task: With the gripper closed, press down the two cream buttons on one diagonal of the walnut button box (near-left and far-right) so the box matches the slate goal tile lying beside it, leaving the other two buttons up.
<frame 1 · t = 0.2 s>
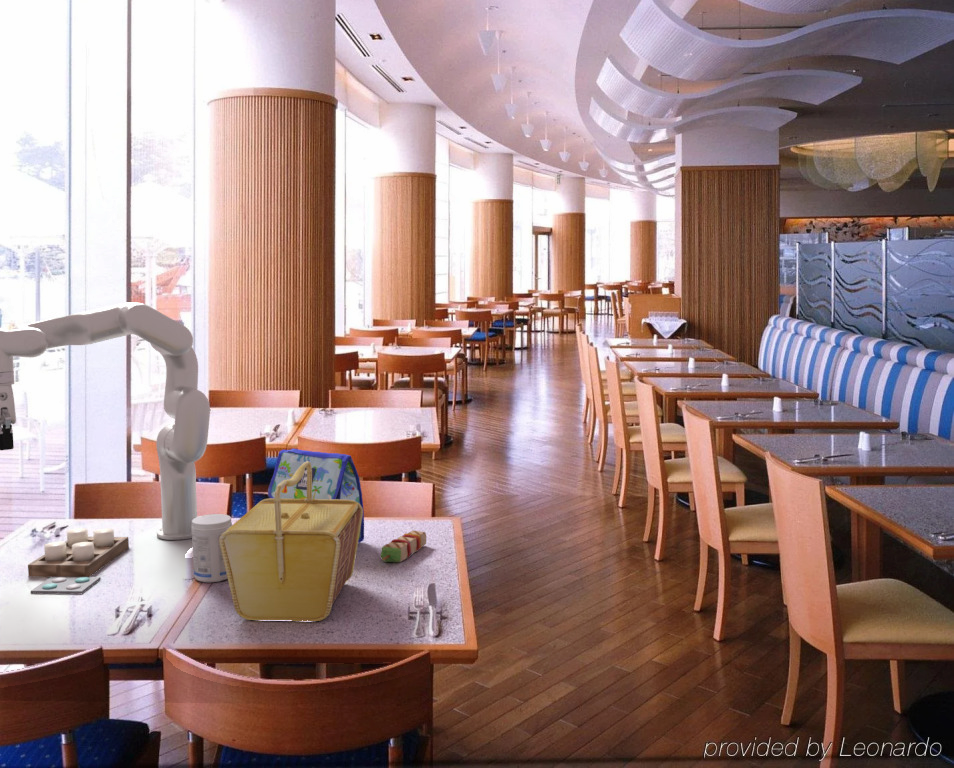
hand: (1, 446, 228), 31 cm above the table, tool pointing down, fingers open, 9 cm apart
supplement tub: (214, 577, 224), on the table
button a: (103, 538, 241), point 4 cm above the table, slide at 0.0 cm
button c: (83, 552, 229), point 4 cm above the table, slide at 0.0 cm
picnic basket: (297, 602, 207), on the table
button d: (55, 551, 229), point 4 cm above the table, slide at 0.0 cm
goal tile: (66, 586, 217), on the table
button box: (81, 561, 235), on the table
lunch bag: (317, 545, 250), on the table
button b: (77, 538, 241), point 4 cm above the table, slide at 0.0 cm
skewer: (401, 557, 240), on the table
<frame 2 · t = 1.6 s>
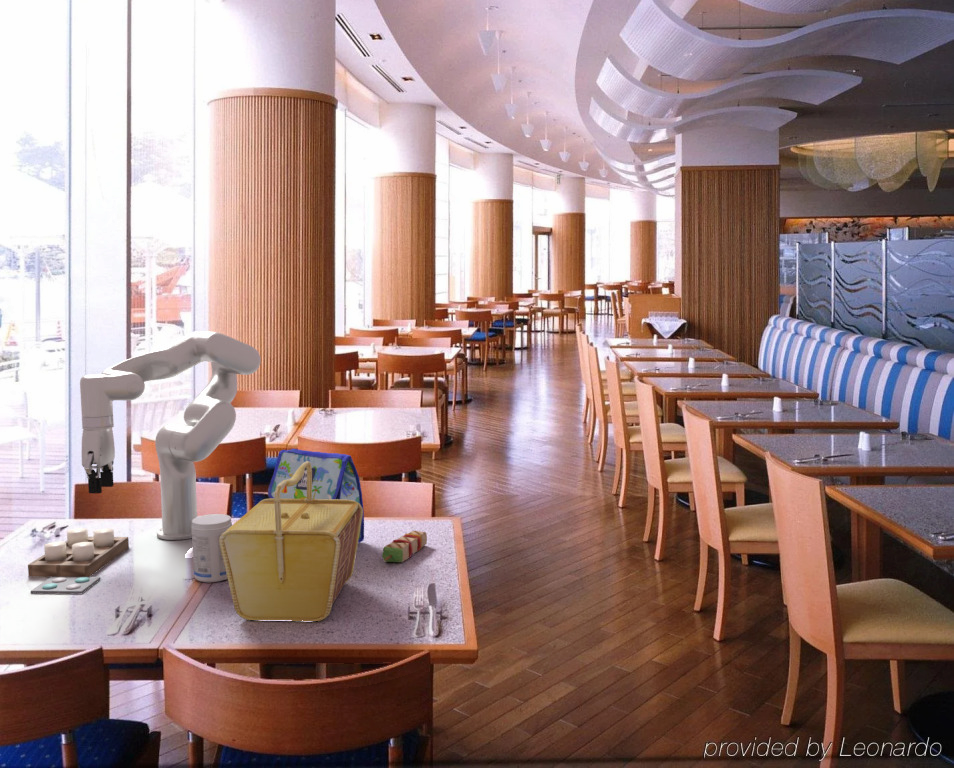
hand: (101, 489, 239), 18 cm above the table, tool pointing down, fingers open, 6 cm apart
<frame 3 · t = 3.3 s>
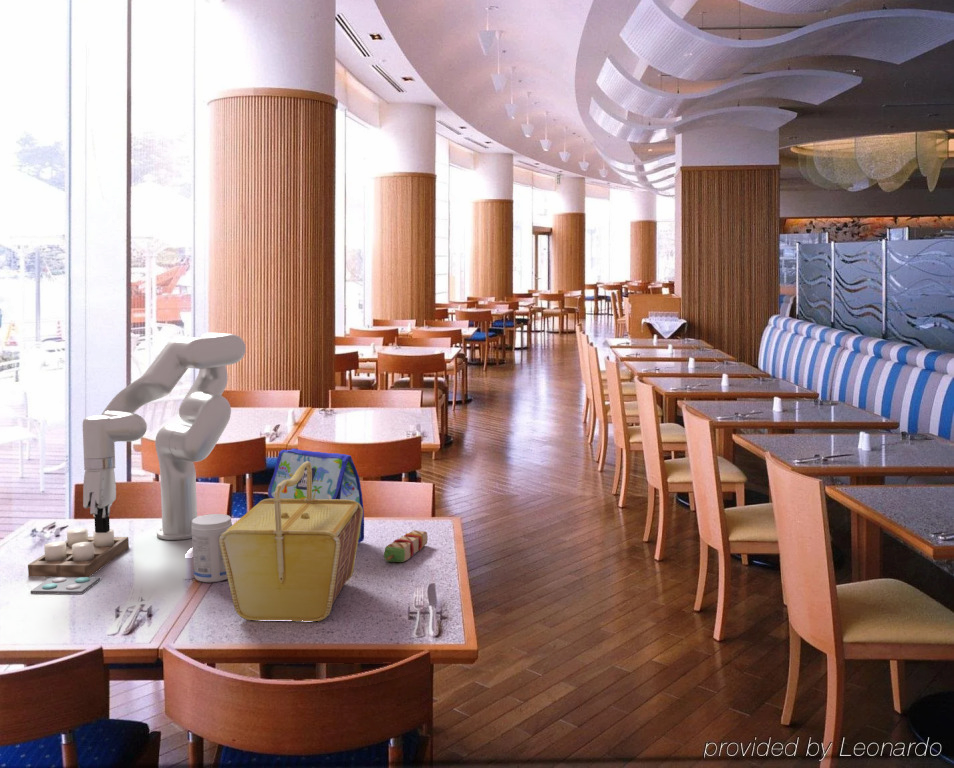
hand: (102, 531, 240), 6 cm above the table, tool pointing down, fingers closed
button a: (103, 538, 241), point 4 cm above the table, slide at 0.1 cm, touching gripper
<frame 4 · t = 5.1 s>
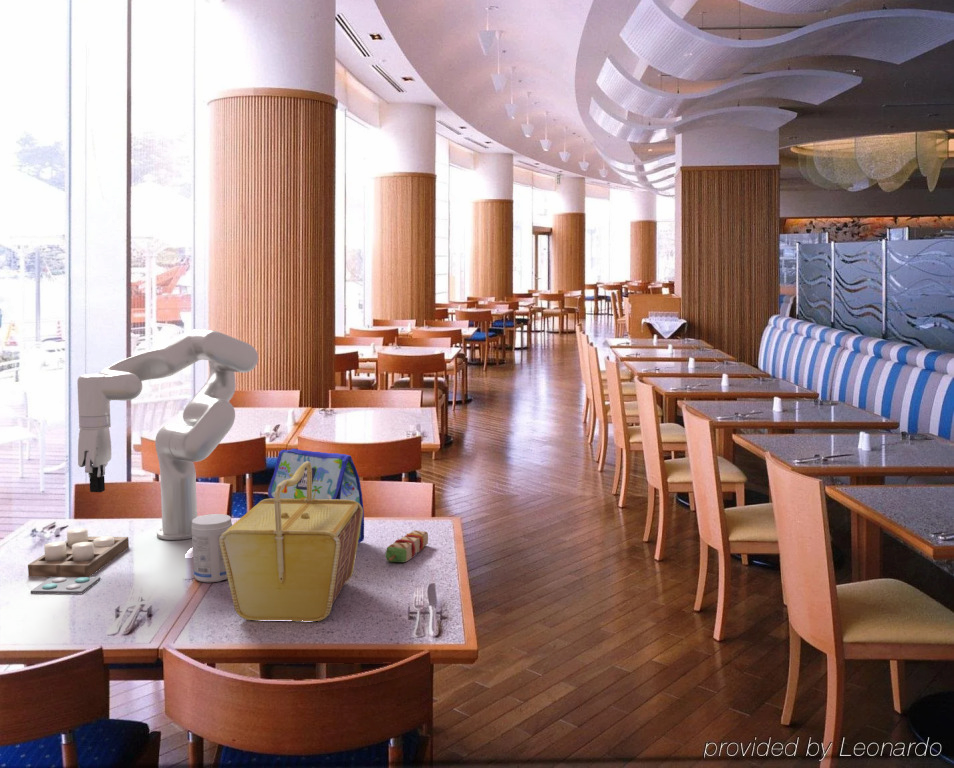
hand: (97, 491, 238), 17 cm above the table, tool pointing down, fingers closed
button a: (104, 546, 241), point 2 cm above the table, slide at 2.1 cm
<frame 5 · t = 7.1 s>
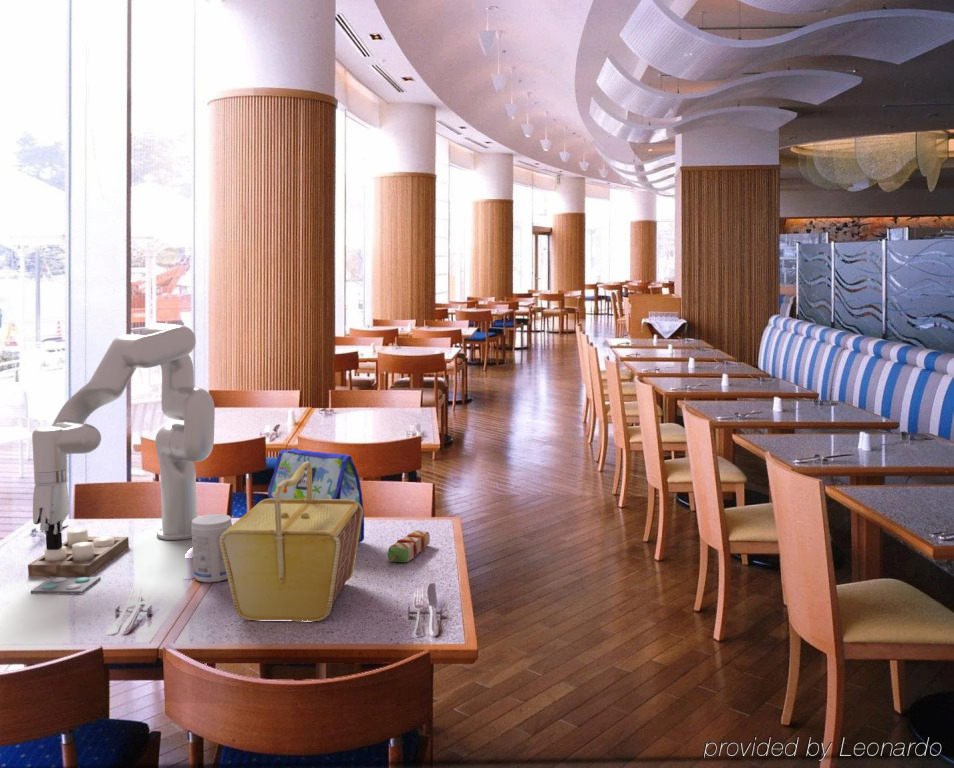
hand: (54, 548, 229), 5 cm above the table, tool pointing down, fingers closed
button d: (55, 555, 229), point 3 cm above the table, slide at 1.0 cm, touching gripper
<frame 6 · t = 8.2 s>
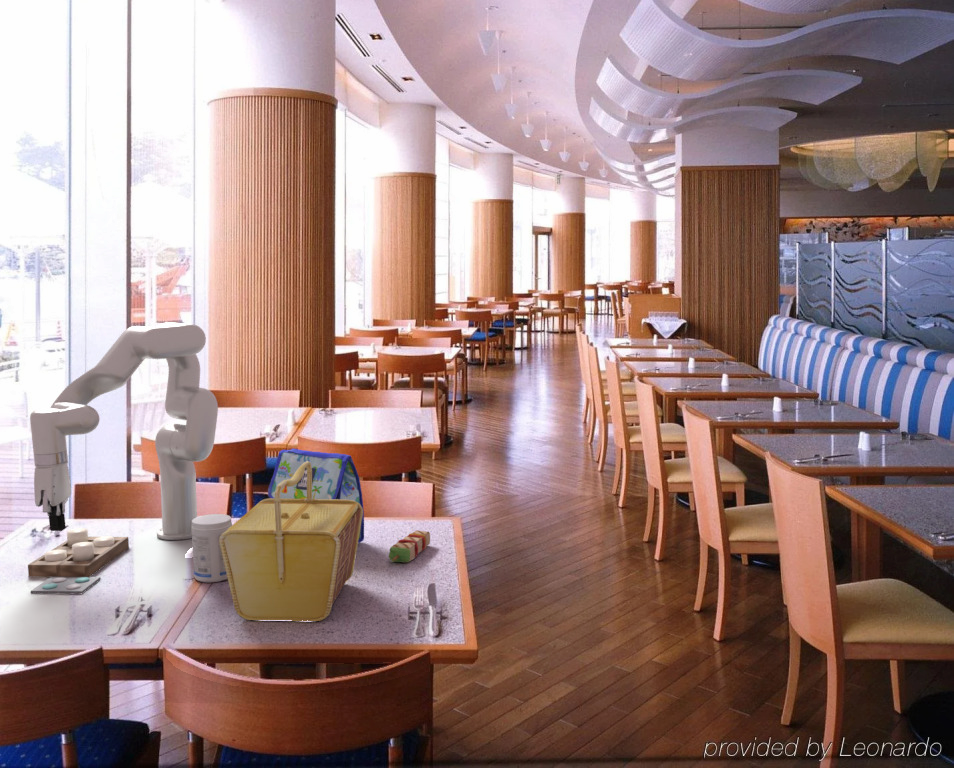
hand: (58, 529, 229), 10 cm above the table, tool pointing down, fingers closed
button d: (56, 559, 229), point 2 cm above the table, slide at 2.1 cm
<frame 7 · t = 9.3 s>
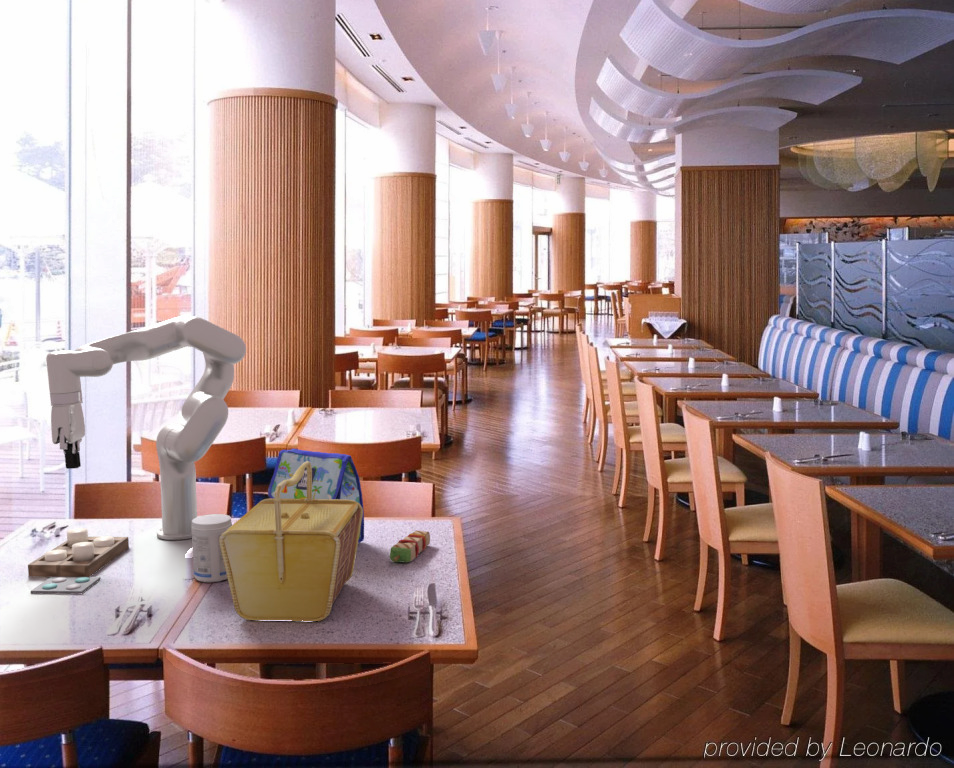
hand: (73, 467, 239), 23 cm above the table, tool pointing down, fingers closed
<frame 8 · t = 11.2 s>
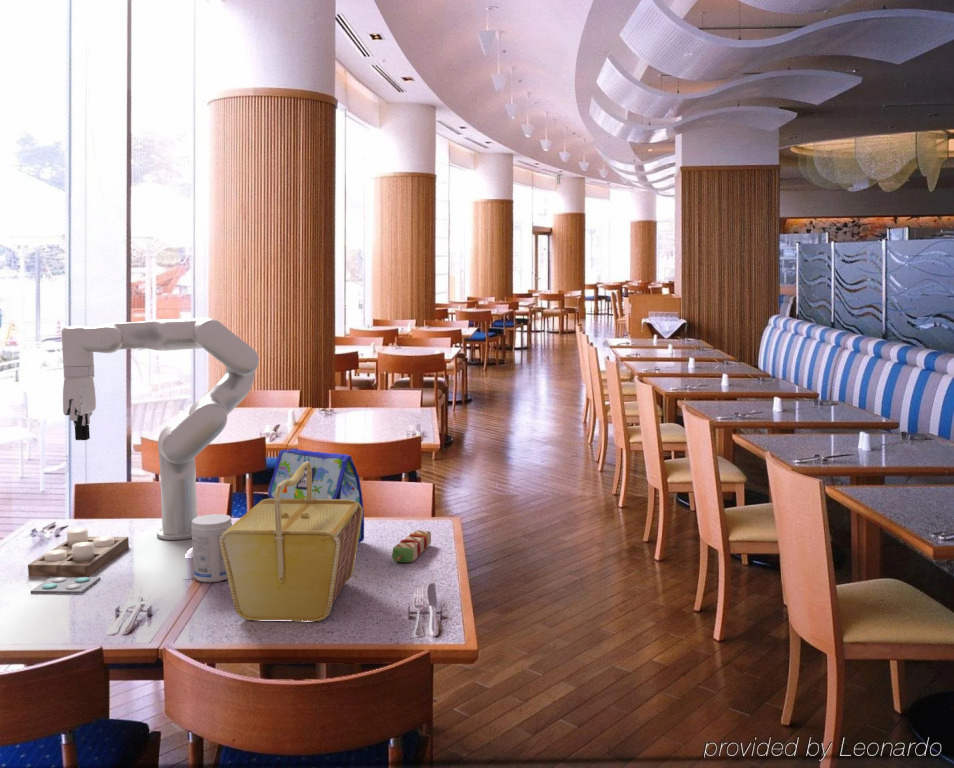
hand: (82, 439, 247), 29 cm above the table, tool pointing down, fingers closed
at the end: button a slide at 2.1 cm; button d slide at 2.1 cm; button b slide at 0.0 cm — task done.
